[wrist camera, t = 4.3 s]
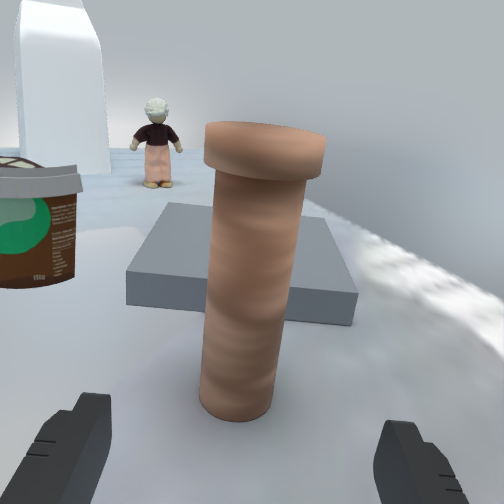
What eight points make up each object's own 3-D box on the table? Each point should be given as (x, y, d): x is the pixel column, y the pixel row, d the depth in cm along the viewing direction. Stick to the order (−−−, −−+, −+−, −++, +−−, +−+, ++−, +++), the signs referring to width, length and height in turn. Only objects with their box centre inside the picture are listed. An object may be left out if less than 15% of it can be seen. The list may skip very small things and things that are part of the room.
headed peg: (278, 368, 29) (317, 129, 23) (284, 434, 24) (336, 148, 18) (195, 361, 29) (211, 117, 23) (182, 425, 24) (198, 133, 17)
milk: (27, 176, 64) (7, -31, 53) (20, 158, 72) (1, -22, 62) (111, 174, 70) (107, -13, 59) (94, 158, 78) (88, -7, 68)
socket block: (319, 242, 51) (323, 218, 50) (351, 325, 35) (358, 293, 34) (167, 226, 51) (168, 202, 50) (126, 304, 34) (126, 270, 33)
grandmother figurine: (171, 180, 70) (174, 97, 65) (183, 186, 67) (187, 100, 62) (125, 184, 65) (125, 95, 60) (136, 191, 62) (136, 98, 57)
